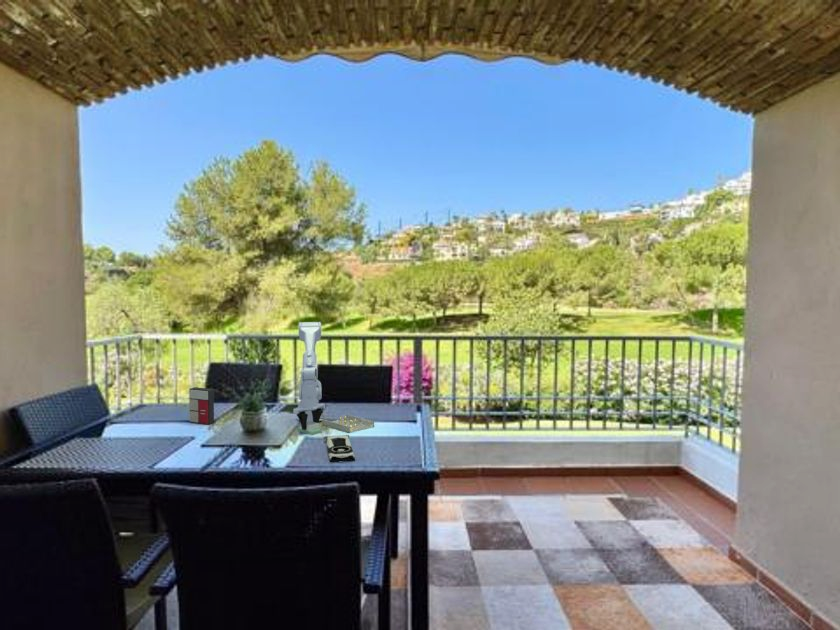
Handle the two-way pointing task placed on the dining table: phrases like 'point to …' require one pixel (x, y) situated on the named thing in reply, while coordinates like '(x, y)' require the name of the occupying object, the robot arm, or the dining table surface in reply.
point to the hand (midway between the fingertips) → (309, 428)
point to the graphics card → (339, 448)
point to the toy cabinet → (201, 405)
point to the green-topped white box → (311, 428)
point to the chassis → (349, 423)
